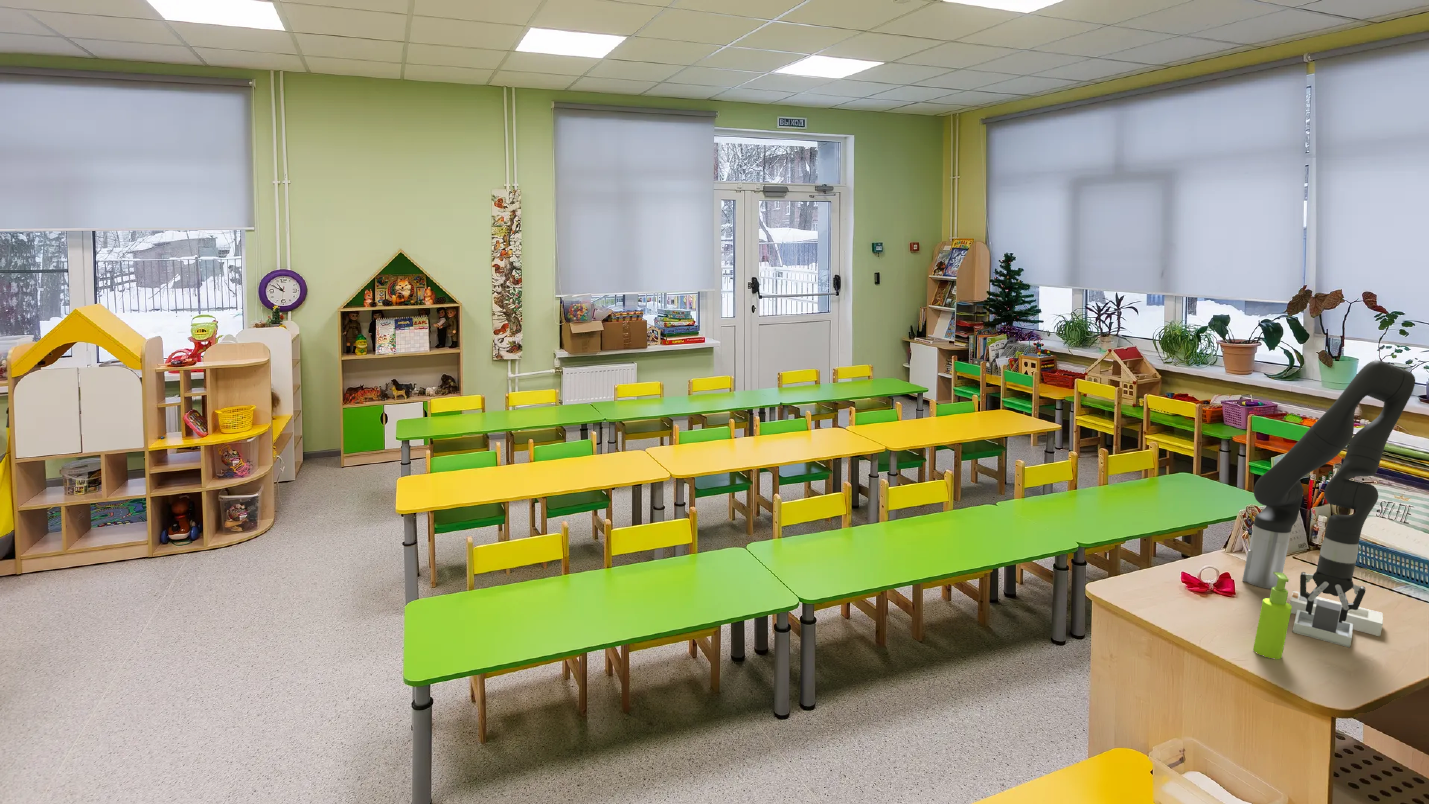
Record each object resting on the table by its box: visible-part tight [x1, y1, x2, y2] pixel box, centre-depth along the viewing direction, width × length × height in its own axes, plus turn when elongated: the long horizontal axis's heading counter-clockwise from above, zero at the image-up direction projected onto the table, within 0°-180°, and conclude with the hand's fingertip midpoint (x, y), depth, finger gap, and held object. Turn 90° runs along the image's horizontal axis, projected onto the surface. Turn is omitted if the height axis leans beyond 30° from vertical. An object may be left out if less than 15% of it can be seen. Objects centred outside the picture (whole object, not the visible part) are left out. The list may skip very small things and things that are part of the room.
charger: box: [1312, 599, 1341, 633], centre depth 219 cm, size 5×7×7 cm
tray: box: [1292, 610, 1354, 649], centre depth 219 cm, size 12×11×2 cm
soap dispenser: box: [1252, 572, 1292, 660], centre depth 205 cm, size 6×7×20 cm
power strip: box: [1289, 590, 1384, 637], centre depth 228 cm, size 20×9×4 cm, turn 52°
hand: (1324, 617), depth 218 cm, fingers open, 6 cm apart
